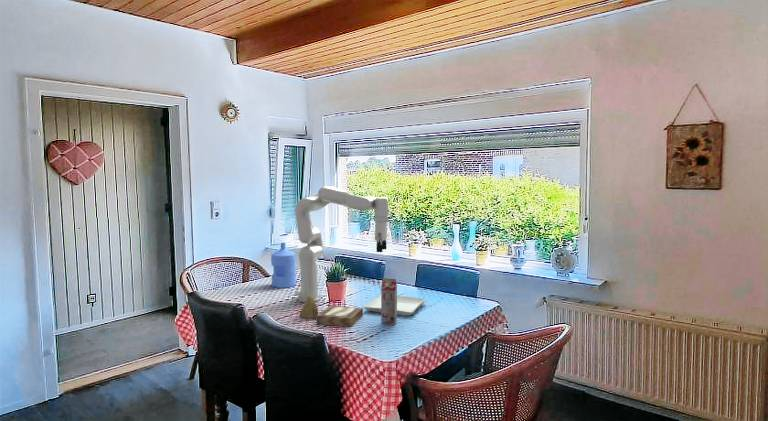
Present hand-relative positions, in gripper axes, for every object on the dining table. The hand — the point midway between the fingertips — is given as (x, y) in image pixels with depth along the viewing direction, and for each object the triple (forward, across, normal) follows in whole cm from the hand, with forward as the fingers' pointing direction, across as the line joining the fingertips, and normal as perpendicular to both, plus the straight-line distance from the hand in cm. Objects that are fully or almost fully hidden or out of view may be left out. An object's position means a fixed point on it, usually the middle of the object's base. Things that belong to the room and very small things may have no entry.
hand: (381, 250), depth 264 cm
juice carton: (+31, +29, +10) cm, 44 cm away
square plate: (+31, +4, +9) cm, 33 cm away
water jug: (+31, -33, -74) cm, 86 cm away
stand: (+31, +29, -15) cm, 45 cm away
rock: (+31, +28, -32) cm, 53 cm away
